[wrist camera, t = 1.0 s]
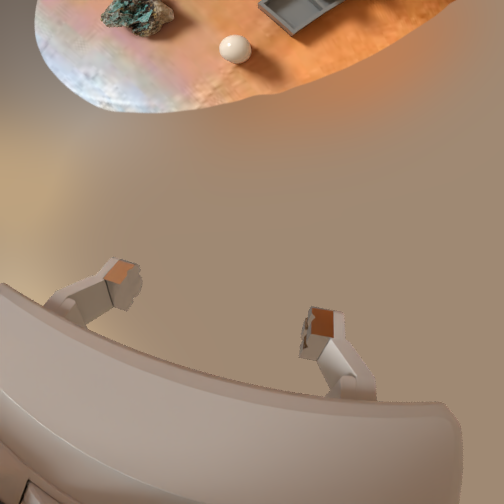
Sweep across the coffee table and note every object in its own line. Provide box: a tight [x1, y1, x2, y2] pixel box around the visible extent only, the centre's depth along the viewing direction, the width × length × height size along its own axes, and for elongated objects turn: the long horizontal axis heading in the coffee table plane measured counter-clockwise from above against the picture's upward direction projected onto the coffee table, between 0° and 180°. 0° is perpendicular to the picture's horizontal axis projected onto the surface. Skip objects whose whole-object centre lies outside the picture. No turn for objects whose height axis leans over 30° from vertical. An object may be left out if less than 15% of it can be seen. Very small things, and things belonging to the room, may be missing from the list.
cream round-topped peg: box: [219, 35, 252, 64], centre depth 31 cm, size 4×4×8 cm
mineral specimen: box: [101, 0, 174, 37], centre depth 27 cm, size 12×9×8 cm
